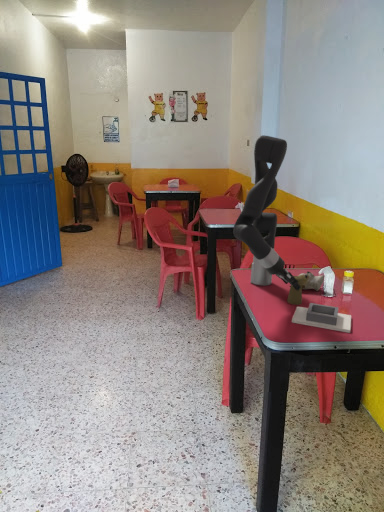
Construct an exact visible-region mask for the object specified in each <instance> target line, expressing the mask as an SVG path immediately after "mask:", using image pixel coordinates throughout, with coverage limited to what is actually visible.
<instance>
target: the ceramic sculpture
mask: <svg viewBox="0 0 384 512" xmlns="http://www.w3.org/2000/svg"><path fill="white" fill-rule="evenodd" d="M298 276H300V277H302V278H303V284H302V285H301V287H302V290H311V289H312V290H315V291H316V292H318V291H319V290H320V289H321V286H322V285H323V282H324V278H325V275H314V273H313V272H311V271H306V272H305V273H300V274H298ZM289 287H291V285H289Z"/></svg>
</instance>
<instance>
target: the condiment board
mask: <svg viewBox="0 0 384 512" xmlns="http://www.w3.org/2000/svg"><path fill="white" fill-rule="evenodd" d="M291 323H293V324H299V325H303V326H309V327H310V326H311V327H315V328H319V329H320V328H322V329H327V330H332V331H336V332H337V331H338V332H343V333H349V334H351V329H352V328H351V327H352V315H351V314H345V313H341V312H339V307H338V306H332V305H326V304H318V303H314V302H313V303H312V302H309V306H308V307H304V306H298V305H296V308H295V311H294V313H293V315H292V318H291Z"/></svg>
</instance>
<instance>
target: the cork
mask: <svg viewBox="0 0 384 512" xmlns="http://www.w3.org/2000/svg"><path fill="white" fill-rule="evenodd" d="M293 276H294V277H295V279H296V280H298V284H299V285H300V286H301V285H302V284H303V278H302V277H300V276H299V275H293ZM290 286H291V287H290ZM290 286H289V287H290V288H289V293H288V295H287V299H286V302H287V303H288V304H290V305H296V306H298V305H302V303H303V294H302V293H303V291H302V290H303V289H302V287H301V288H300V289H299V290H298V291H297V290H296V289H295V288H294V287H293V286H292V285H291V284H290Z"/></svg>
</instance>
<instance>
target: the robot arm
mask: <svg viewBox="0 0 384 512" xmlns="http://www.w3.org/2000/svg"><path fill="white" fill-rule="evenodd" d="M287 148H288V142H287V140H285V139H283V138H280V137H274V136H270V135H262V134H261V135H260V136H258V137H257V139H256V140H255V143H254V152H253V157H254V172H255V174H254V185H253V186H252V187H251V188H250V190H249V191H248V193H247V196H246V198H245V200H244V201H245V202H244V205H243V208H242V210H241V212H240V214H239V216H238V217H237V219H236V221H235V223H234V226H233V230H232V231H233V232H232V233H233V236H234V238H235V239H236V240H238V241H241V242H243V243H244V244H245V245H247V247H248V249H249V252H250V253H251V254H252V255H253V256H252V258H253V259H252V262H251V271H250V272H251V273H250V284H253V285H256V286H270V285H271V284H272V281H273V280H272V279H273V276H276V277H278V278H279V279H280V280H282V282H283V283H284V284H286V285H287V284H289V285H290V286H291V285H292V286H293V287H294V288H295V289H296V290H297V291H298V290H299V289H300V288H301V286H300V285H299V284H298V280H296V279H295V277H294V276H295V275H293V274H292V273H291V272H290V271H288V269H287V268H285V265H286V264H285V263H286V262H285V261H284V260H283V258H282V256H280V255H279V254H278V252H277V251H276V250H275V243H276V241H275V240H276V232H277V226H278V216H277V213H275V212H264V211H265V210H266V209H267V208H268V207H270V206H271V205H272V204H273V203H274V201H275V200H276V199H277V195H278V182H277V181H278V180H277V179H276V178H277V176H278V173H279V171H280V168H281V167H282V164H283V162H284V160H285V157H286V153H287ZM268 164H270V165H271V166H270V167H269V166H268ZM262 234H268V235H266V236H264V237H263V235H262Z"/></svg>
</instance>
